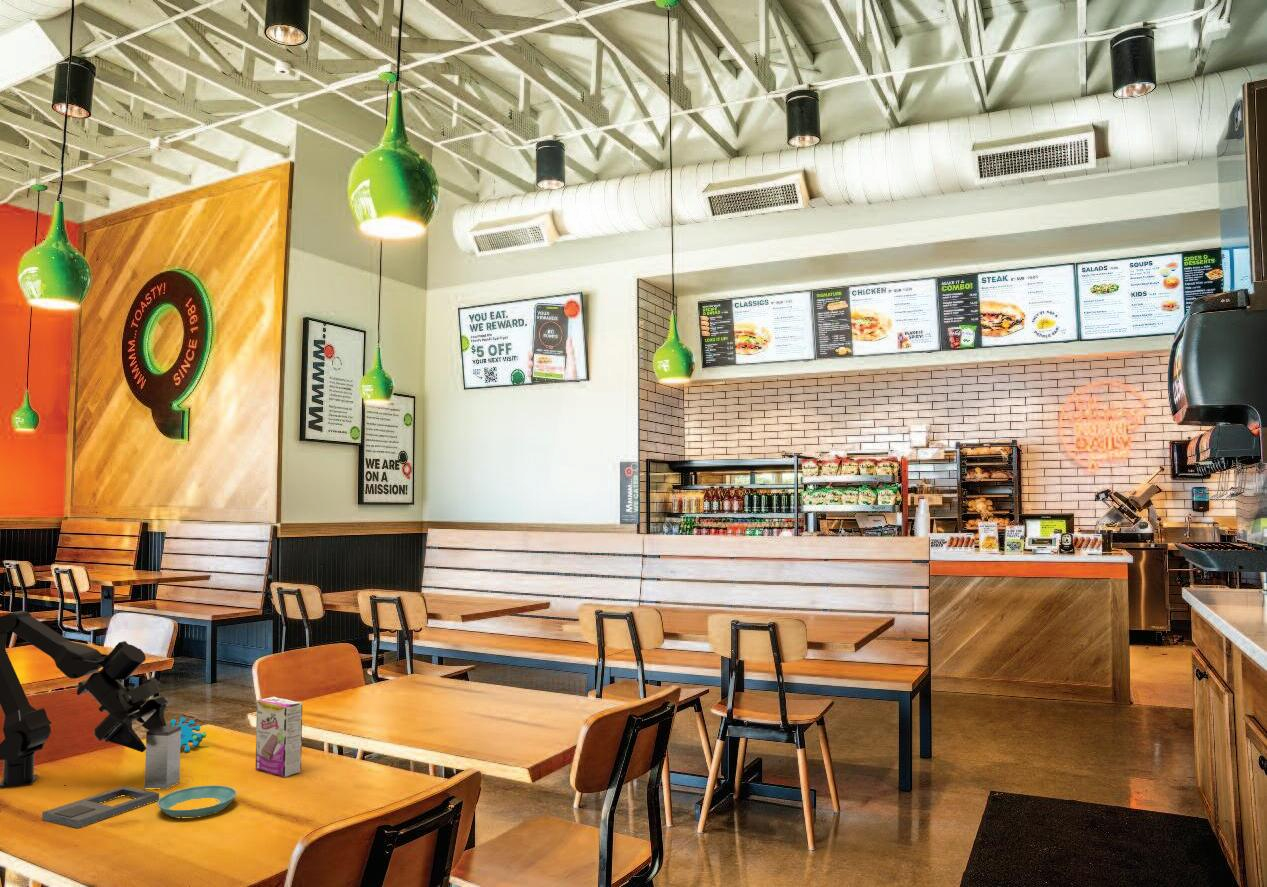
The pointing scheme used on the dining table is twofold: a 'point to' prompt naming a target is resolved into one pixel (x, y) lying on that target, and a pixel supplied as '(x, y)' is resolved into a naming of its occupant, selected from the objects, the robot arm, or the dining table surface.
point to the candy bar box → (279, 736)
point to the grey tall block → (162, 757)
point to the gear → (189, 733)
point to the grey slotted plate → (97, 807)
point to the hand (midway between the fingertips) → (157, 744)
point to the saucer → (217, 792)
